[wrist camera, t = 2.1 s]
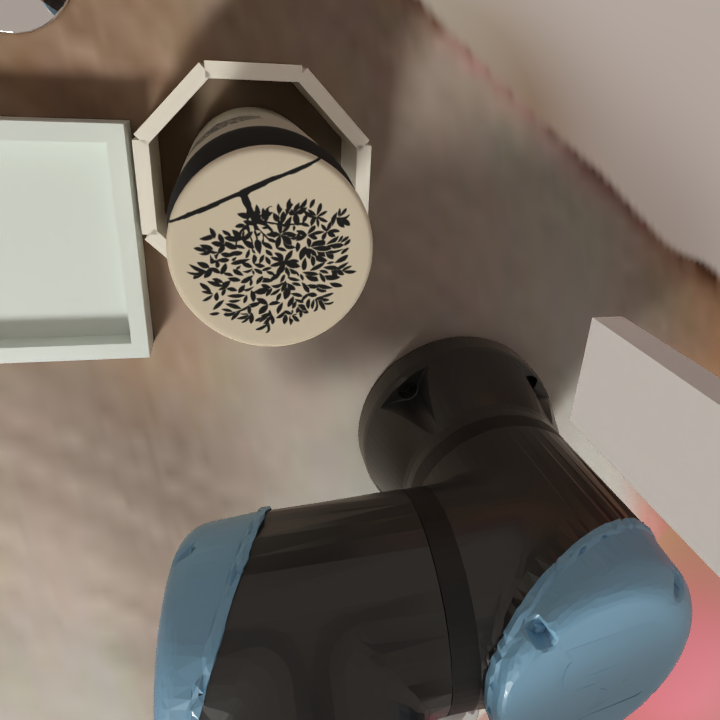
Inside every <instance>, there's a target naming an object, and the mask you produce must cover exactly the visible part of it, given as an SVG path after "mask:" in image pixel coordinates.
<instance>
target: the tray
mask: <svg viewBox="0 0 720 720" xmlns="http://www.w3.org/2000/svg"><path fill="white" fill-rule="evenodd" d="M153 343H154V339H153V330H152V320H151V311H150V302H149V293H148V284H147V274H146V265H145V256H144V247H143V238H142V230H141V220H140V211H139V202H138V193H137V184H136V175H135V165H134V156H133V147H132V137H131V128H130V120H105V119H73V118H41V117H8V116H0V363H21V362H45V361H70V360H94V359H119V358H143V357H150V354H151V351H152V347H153Z"/></svg>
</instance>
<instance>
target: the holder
mask: <svg viewBox="0 0 720 720" xmlns="http://www.w3.org/2000/svg"><path fill="white" fill-rule="evenodd" d="M209 78H218V79H240V80H263V81H285V82H292V83H293V84H294V85H295V86H296V88H297V89H298V90H299V91H300V92H301V93H302V94H303V96H304V97H305V98H306V99H307V100H308V101H309V102H310V103H311V105H312V106H313V107H314V108H315V109H316V110H317V111H318V113H319V114H320V115H321V116H322V117H323V118H324V119H325V121H326V122H327V123H328V124H329V125H330V126H331V127H332V128H333V130H334V131H335V132H336V133H337V134H338V135H339V136H340V138H341V139H342V153H341V167H342V168H343V170H344V171H345V172H346V174H347V175H348V177H349V179H350V180H351V182H352V184H353V186H354V188H355V190H356V192H357V193H358V195H359V197H360V199H361V200H362V202H363V204H364V207H365V209H366V211H367V214H368V205H369V185H370V165H371V145H369V144H367V143H368V142H369V141H370V140H369V139H368V138H367V137H366V136H365V135H364V133H363V132H362V131H361V130H360V129H359V128H358V126H357V125H356V124H355V123H354V122H353V121H352V119H351V118H350V117H349V116H348V115H347V113H346V112H345V111H344V110H343V109H342V108H341V106H340V105H339V104H338V103H337V102H336V101H335V99H334V98H333V97H332V96H331V95H330V94H329V92H328V91H327V90H326V89H325V88H324V87H323V85H322V84H321V83H320V82H319V81H318V80H317V78H316V77H315V76H314V75H313V74H312V73H311V71H310V70H309V69H308V68H302V65H288V64H269V63H249V62H229V61H209V60H204V64H203V63H198V64H197V65H196V66H195V67H194V68H193V69H192V70H191V71H190V73H189V74H188V75H187V76H186V77H185V78H184V79H183V80H182V81H181V82H180V84H179V85H178V86H177V87H176V88H175V89H174V90H173V91H172V92H171V93H170V95H169V96H168V97H167V98H166V99H165V100H164V101H163V102H162V103H161V104H160V106H159V107H158V108H157V109H156V110H155V111H154V112H153V113H152V114H151V115H150V117H149V118H148V119H147V120H146V121H145V122H144V123H143V124H142V125H141V127H140V128H139V129H138V130H137V131H136V132H135V133H134V135H135V136H136V137H135V138H133V139H132V147H133V156H134V165H135V175H136V184H137V193H138V202H139V211H140V220H141V230H142V235H147V236H146V238H145V240H146V241H147V242H148V243H150V244H151V245H152V246H153V247H154V248H155V249H157V250H158V251H159V252H160V253H161V254H162V255H164V256H165V257H166V258H167V252H166V237H167V213H166V212H165V206H164V195H163V184H162V173H161V162H160V151H159V140H158V134H159V132H160V131H161V130H162V129H163V128H164V127H165V126H166V125H167V124H168V123H169V122H170V120H171V119H172V118H173V117H174V116H175V115H176V114H177V113H178V112H179V111H180V110H181V109H182V107H183V106H184V105H185V104H186V103H187V102H188V101H189V100H190V99H191V98H192V97H193V95H194V94H195V93H196V92H197V91H198V90H199V89H200V88H201V87H202V86H203V85H204V83H205V82H206V81H207V80H208V79H209Z"/></svg>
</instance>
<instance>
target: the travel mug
mask: <svg viewBox="0 0 720 720" xmlns="http://www.w3.org/2000/svg"><path fill="white" fill-rule="evenodd" d="M166 252H167V260H168V266H169V270H170V274H171V277H172V279H173V282H174V284H175V286H176V289H177V291H178V293H179V294H180V296H181V297H182V299H183V301H184V302H185V303H186V305H187V306H188V307H189V309H190V310H191V311H192V312H193V313H194V314H195V315H196V316H197V317H198V318H199V319H200V320H201V321H202V322H203V323H205V324H206V325H207V326H209V327H210V328H211V329H213V330H215V331H216V332H218V333H220V334H222V335H224V336H226V337H228V338H230V339H233V340H236V341H238V342H242V343H246V344H250V345H256V346H285V345H291V344H296V343H299V342H303V341H306V340H308V339H311V338H313V337H315V336H317V335H319V334H321V333H323V332H325V331H326V330H328V329H329V328H331V327H332V326H334V325H335V324H336V323H337V322H338V321H340V320H341V319H342V318H343V317H344V316H345V315H346V314H347V313H348V312H349V311H350V309H351V308H352V307H353V305H354V304H355V303H356V301H357V300H358V298H359V296H360V295H361V293H362V291H363V289H364V287H365V284H366V282H367V279H368V276H369V273H370V269H371V264H372V256H373V237H372V230H371V225H370V221H369V217H368V214H367V211H366V209H365V207H364V204H363V202H362V200H361V199H360V197H359V195H358V193H357V192H356V190H355V188H354V186H353V184H352V182H351V180H350V179H349V177H348V175H347V174H346V172H345V171H344V170H343V168H342V167H341V166H340V164H339V163H338V162H337V161H336V160H335V159H334V158H333V157H332V156H331V155H330V154H329V153H327V152H326V151H325V150H324V149H323V148H322V147H320V146H319V145H318V144H317V143H316V142H315V141H313V140H312V139H311V138H310V137H309V136H308V135H306V134H305V133H304V132H303V131H302V130H301V129H299V128H298V127H297V126H296V125H295V124H294V123H292V122H291V121H290V120H288V119H287V118H286V117H284V116H282V115H280V114H278V113H276V112H274V111H271V110H268V109H264V108H259V107H240V108H235V109H232V110H228V111H226V112H223V113H221V114H220V115H218V116H216V117H215V118H213V119H212V120H210V121H209V122H208V123H207V124H206V125H205V126H204V127H203V128H202V129H201V131H200V132H199V133H198V135H197V137H196V138H195V140H194V142H193V144H192V147H191V149H190V151H189V154H188V156H187V158H186V160H185V163H184V165H183V167H182V170H181V172H180V174H179V177H178V179H177V181H176V184H175V186H174V188H173V191H172V194H171V197H170V201H169V205H168V211H167V237H166Z"/></svg>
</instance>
